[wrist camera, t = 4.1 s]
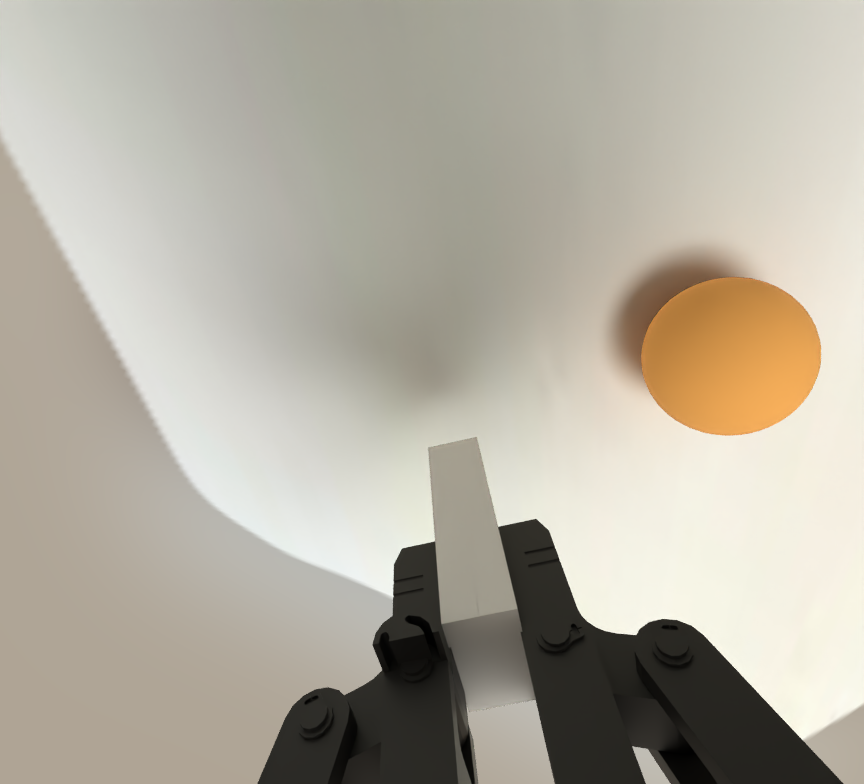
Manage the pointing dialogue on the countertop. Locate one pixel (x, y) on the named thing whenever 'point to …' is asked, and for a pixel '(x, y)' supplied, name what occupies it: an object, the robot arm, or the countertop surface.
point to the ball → (731, 356)
